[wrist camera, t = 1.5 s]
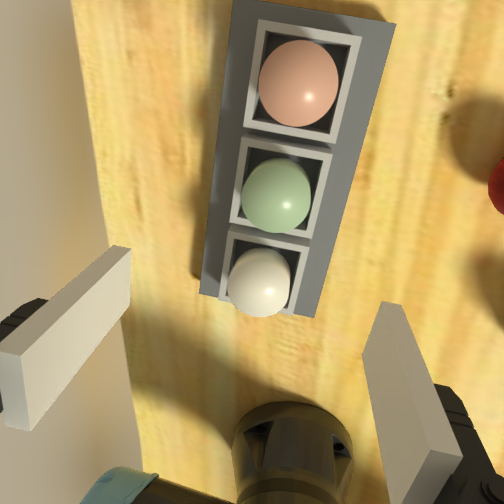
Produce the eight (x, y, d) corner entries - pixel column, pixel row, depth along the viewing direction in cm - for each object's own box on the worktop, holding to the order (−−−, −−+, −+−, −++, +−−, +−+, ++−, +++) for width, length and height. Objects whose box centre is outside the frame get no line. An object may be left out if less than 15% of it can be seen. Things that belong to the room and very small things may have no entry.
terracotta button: (325, 127, 29) (327, 133, 26) (258, 115, 29) (252, 119, 26) (343, 50, 27) (347, 47, 24) (270, 38, 27) (265, 33, 24)
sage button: (302, 224, 32) (302, 239, 29) (242, 212, 33) (236, 225, 30) (316, 163, 30) (317, 173, 27) (252, 151, 30) (246, 159, 27)
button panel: (313, 307, 40) (314, 332, 36) (203, 284, 41) (192, 306, 37) (391, 27, 29) (404, 18, 25) (238, 1, 30) (227, -11, 26)
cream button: (284, 302, 36) (282, 322, 33) (230, 291, 36) (223, 310, 33) (295, 253, 34) (294, 270, 31) (238, 242, 34) (231, 257, 31)
